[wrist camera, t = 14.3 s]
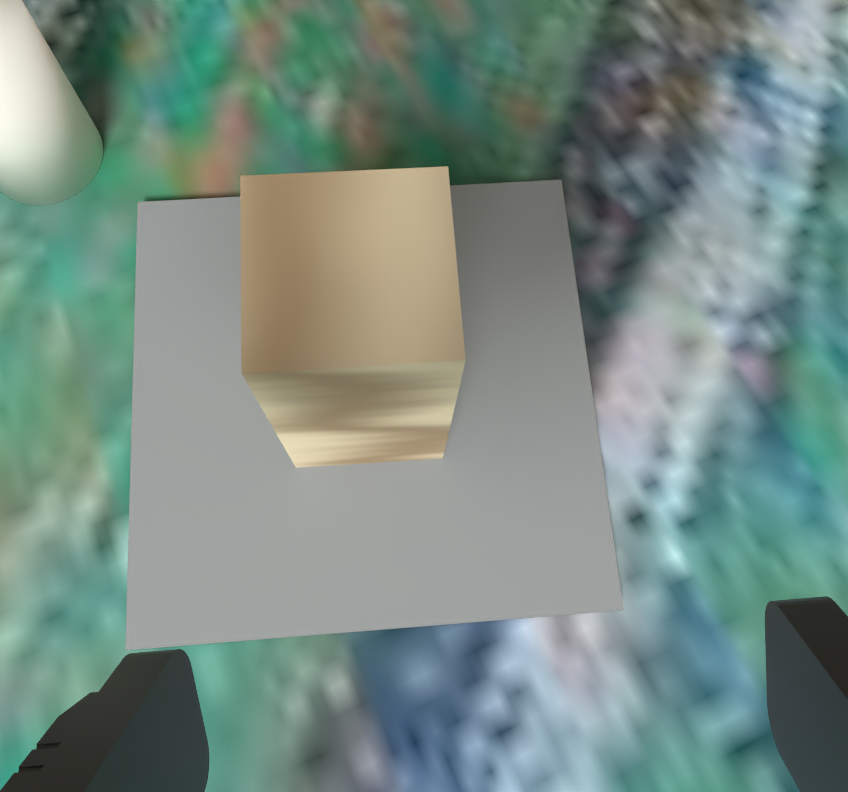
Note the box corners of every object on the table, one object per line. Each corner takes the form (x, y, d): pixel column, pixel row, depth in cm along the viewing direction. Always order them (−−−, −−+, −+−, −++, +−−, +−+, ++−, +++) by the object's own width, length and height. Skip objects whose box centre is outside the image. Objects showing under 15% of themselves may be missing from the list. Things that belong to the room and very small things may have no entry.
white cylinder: (119, 120, 32) (45, -18, 25) (79, 216, 31) (-9, 97, 24) (13, 96, 32) (-88, -48, 26) (-31, 190, 31) (-150, 65, 24)
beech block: (432, 322, 29) (447, 166, 20) (443, 458, 28) (465, 360, 18) (292, 330, 29) (240, 175, 20) (295, 467, 28) (241, 373, 18)
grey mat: (558, 187, 32) (561, 179, 31) (619, 610, 27) (623, 609, 27) (142, 210, 31) (137, 201, 30) (131, 649, 26) (125, 650, 26)
